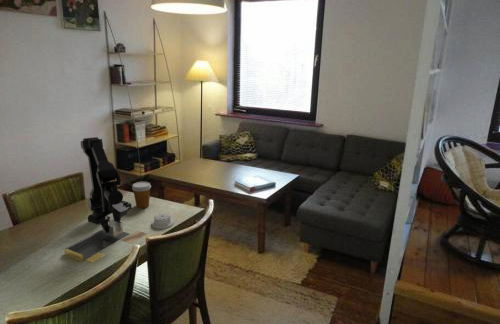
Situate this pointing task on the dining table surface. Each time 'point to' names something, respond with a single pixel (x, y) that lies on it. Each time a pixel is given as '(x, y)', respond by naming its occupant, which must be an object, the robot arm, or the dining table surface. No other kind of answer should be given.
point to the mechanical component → (162, 221)
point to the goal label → (95, 257)
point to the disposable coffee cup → (141, 194)
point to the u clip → (114, 228)
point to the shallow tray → (91, 245)
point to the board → (133, 237)
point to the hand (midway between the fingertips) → (112, 230)
